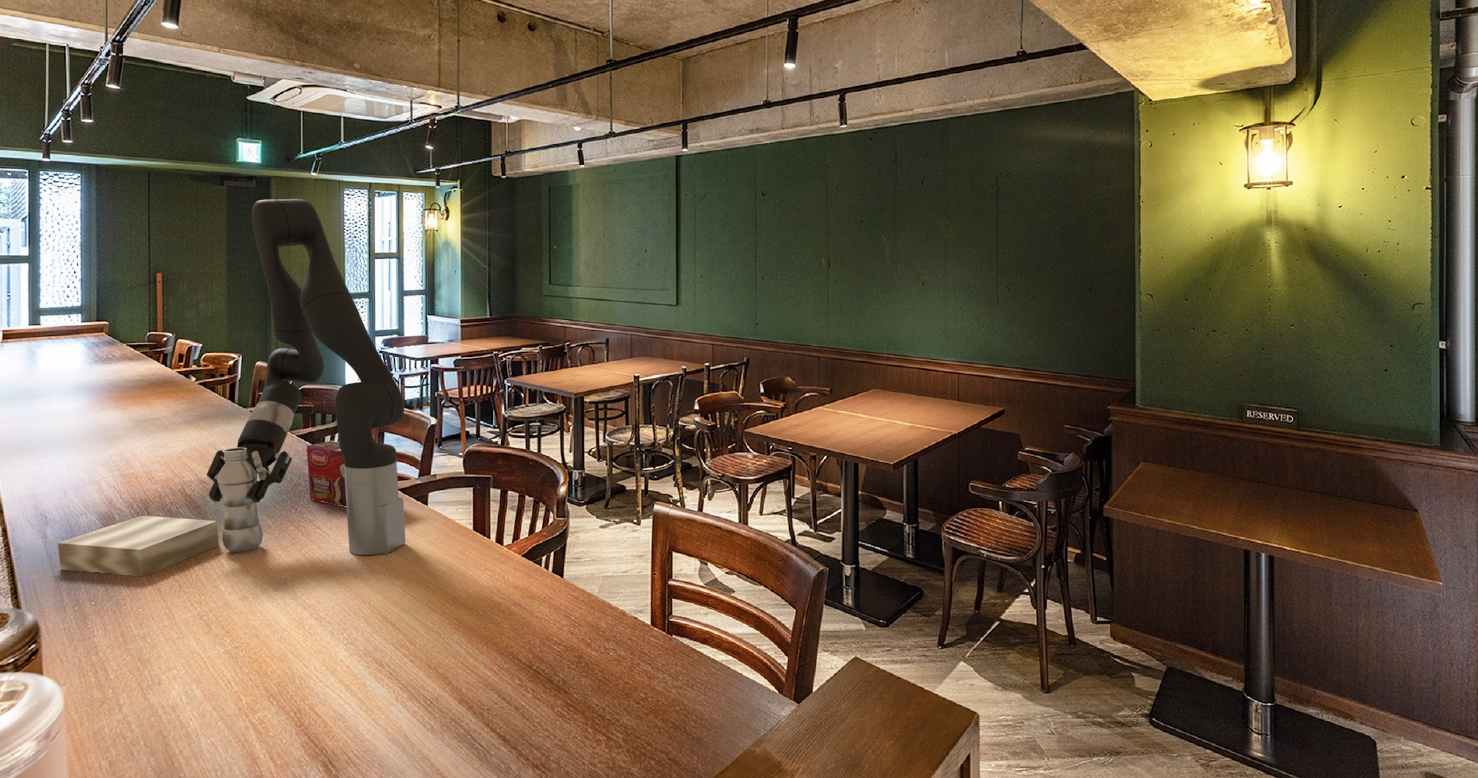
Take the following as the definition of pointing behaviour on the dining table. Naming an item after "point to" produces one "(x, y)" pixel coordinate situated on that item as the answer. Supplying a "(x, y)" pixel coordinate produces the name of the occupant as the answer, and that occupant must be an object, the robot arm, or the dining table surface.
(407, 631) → the dining table surface
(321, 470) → the ice cream box
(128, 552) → the oak pedestal
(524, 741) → the dining table surface
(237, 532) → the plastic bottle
